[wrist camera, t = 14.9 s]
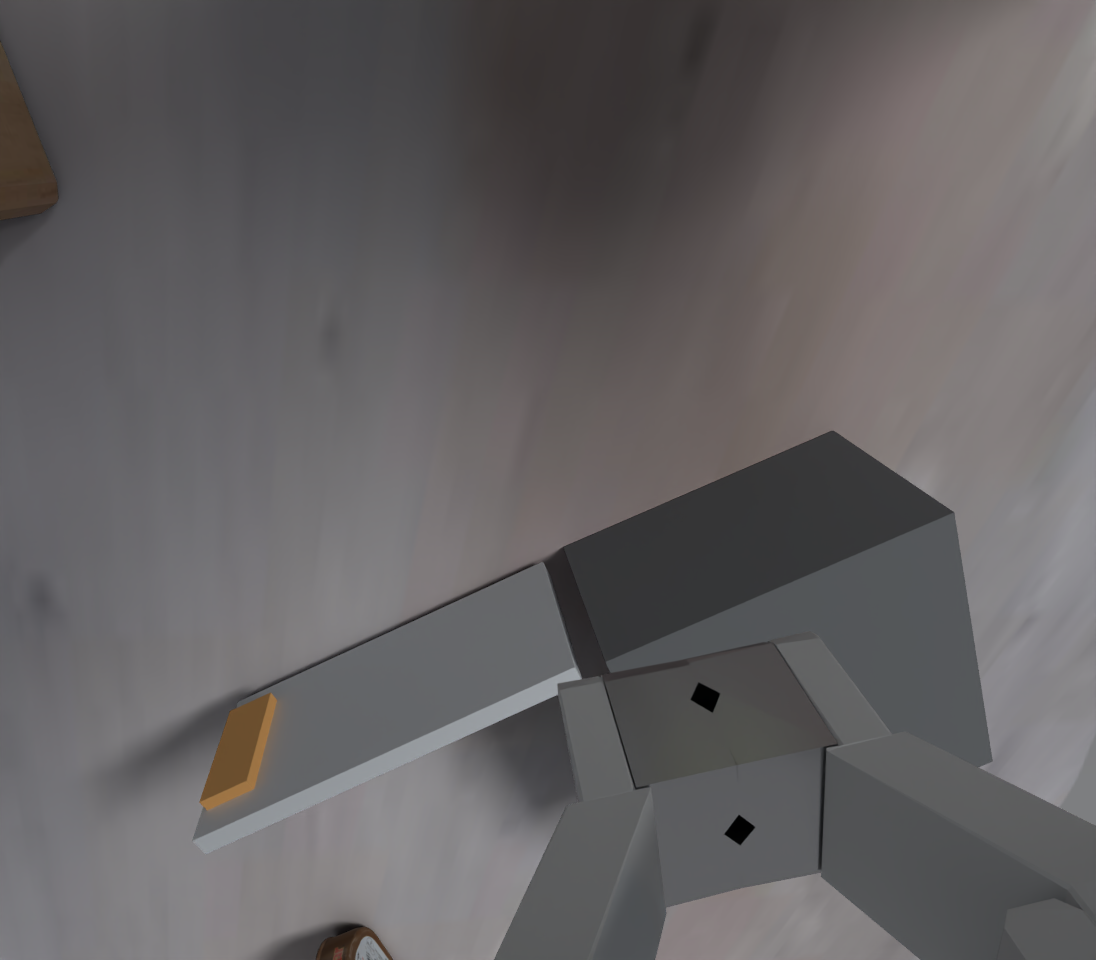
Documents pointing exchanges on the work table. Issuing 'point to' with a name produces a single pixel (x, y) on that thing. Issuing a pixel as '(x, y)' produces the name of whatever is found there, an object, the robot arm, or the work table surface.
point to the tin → (353, 946)
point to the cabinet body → (801, 584)
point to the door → (386, 705)
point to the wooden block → (21, 154)
